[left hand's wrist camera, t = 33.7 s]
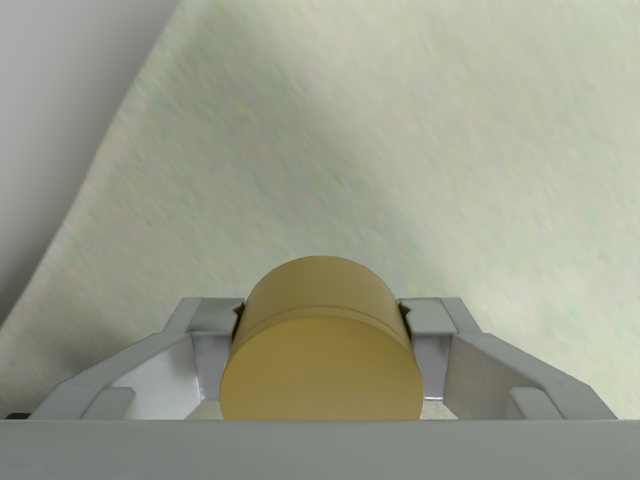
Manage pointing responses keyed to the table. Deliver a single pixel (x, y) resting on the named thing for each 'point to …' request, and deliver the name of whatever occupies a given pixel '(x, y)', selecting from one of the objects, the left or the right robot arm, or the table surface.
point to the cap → (321, 348)
